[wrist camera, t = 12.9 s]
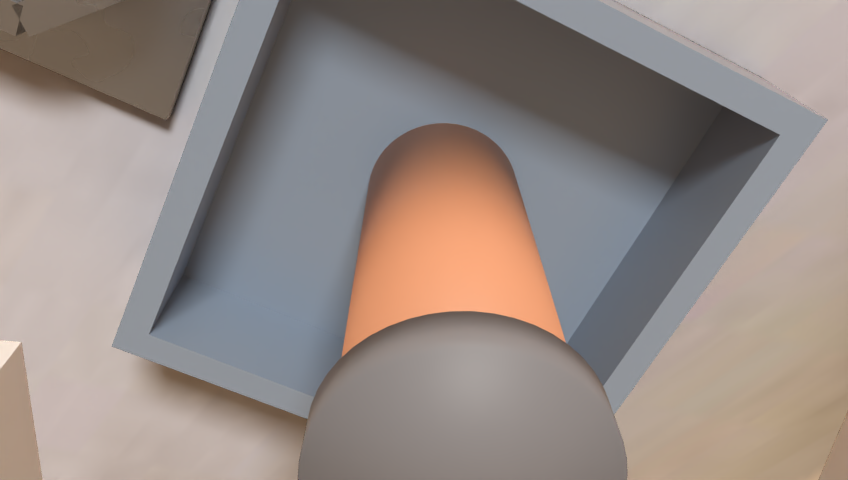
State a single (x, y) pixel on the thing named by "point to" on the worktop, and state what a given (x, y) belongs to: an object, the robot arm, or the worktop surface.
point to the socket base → (109, 44)
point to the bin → (478, 109)
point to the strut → (455, 336)
